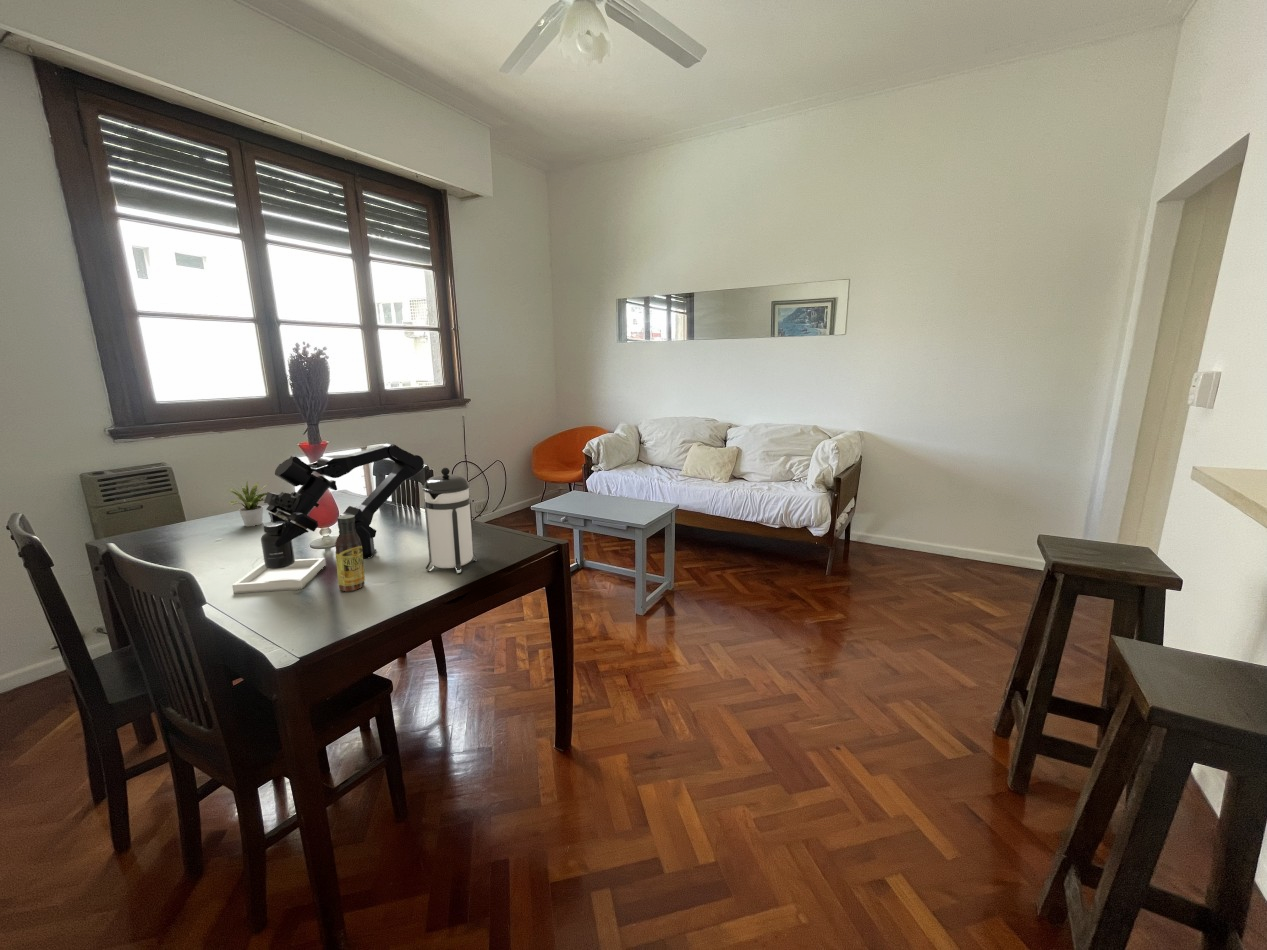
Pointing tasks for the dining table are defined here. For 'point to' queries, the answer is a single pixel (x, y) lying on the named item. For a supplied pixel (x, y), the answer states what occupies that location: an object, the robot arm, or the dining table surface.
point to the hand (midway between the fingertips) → (271, 543)
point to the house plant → (250, 505)
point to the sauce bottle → (349, 555)
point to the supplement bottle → (272, 553)
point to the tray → (279, 577)
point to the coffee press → (448, 520)
